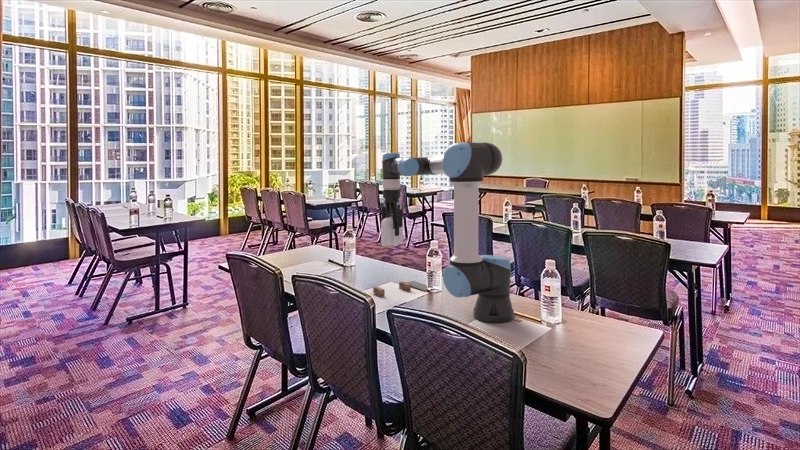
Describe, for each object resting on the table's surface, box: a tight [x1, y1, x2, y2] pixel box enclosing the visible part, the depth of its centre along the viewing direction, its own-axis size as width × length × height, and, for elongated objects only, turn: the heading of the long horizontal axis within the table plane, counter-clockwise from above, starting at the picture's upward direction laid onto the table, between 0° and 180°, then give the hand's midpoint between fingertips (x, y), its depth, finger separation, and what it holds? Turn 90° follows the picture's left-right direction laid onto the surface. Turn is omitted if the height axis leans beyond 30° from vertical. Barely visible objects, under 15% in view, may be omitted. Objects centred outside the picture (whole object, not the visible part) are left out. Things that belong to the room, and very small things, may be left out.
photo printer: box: [380, 216, 404, 247], centre depth 218 cm, size 10×4×12 cm, turn 126°
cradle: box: [372, 281, 412, 297], centre depth 221 cm, size 6×16×3 cm, turn 126°
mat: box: [405, 280, 428, 292], centre depth 230 cm, size 16×6×1 cm, turn 36°
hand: (392, 242), depth 218 cm, fingers closed on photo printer, 4 cm apart
